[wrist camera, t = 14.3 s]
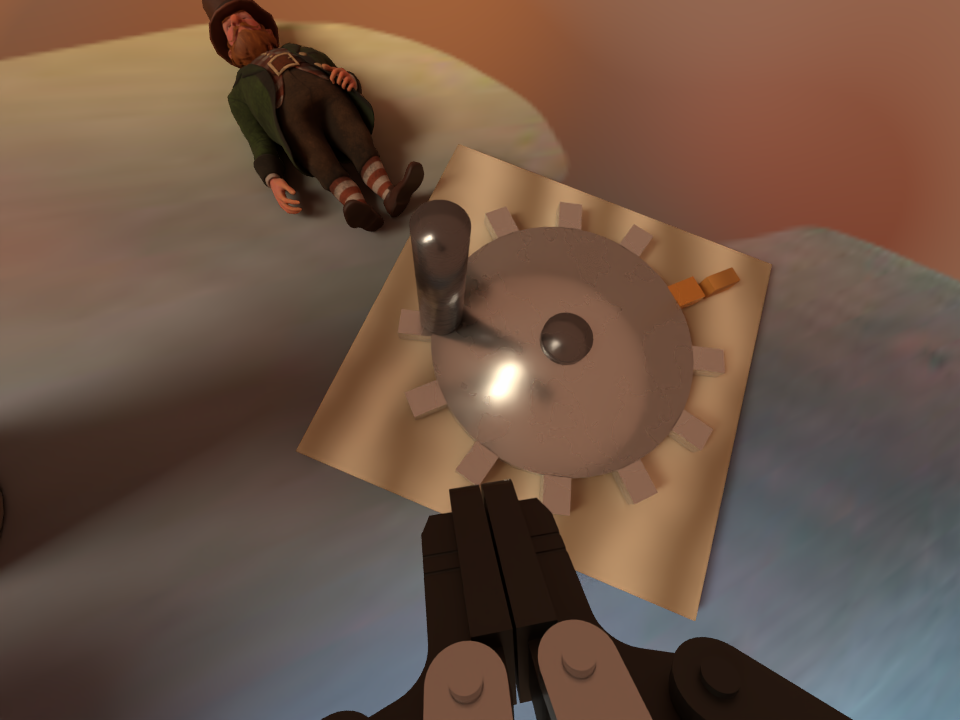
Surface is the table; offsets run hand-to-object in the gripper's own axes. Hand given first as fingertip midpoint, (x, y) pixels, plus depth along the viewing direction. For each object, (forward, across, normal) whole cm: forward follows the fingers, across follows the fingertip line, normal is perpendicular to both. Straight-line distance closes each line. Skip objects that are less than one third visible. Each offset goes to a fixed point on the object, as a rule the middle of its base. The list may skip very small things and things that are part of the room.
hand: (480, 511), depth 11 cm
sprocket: (+21, -9, +7) cm, 24 cm away
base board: (+23, -9, +8) cm, 26 cm away
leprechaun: (+39, +9, -8) cm, 41 cm away
